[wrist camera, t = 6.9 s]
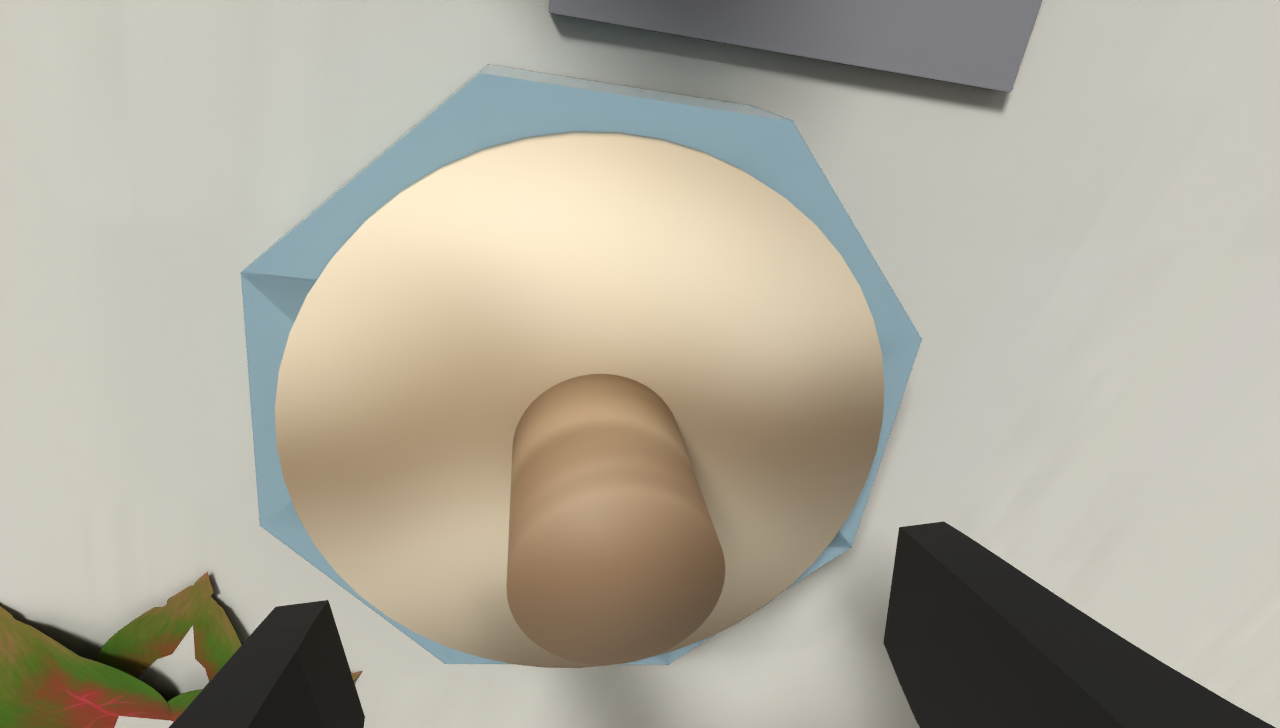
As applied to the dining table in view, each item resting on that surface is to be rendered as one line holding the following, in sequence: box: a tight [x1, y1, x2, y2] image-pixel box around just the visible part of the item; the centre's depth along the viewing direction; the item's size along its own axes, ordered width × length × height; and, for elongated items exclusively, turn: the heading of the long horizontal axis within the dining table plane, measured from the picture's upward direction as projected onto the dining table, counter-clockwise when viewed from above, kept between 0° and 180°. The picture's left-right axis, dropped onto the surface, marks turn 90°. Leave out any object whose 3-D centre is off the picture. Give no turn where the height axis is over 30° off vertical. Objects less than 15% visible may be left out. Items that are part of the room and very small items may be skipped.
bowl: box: [240, 64, 922, 665], centre depth 15 cm, size 12×12×2 cm
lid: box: [275, 131, 885, 668], centre depth 12 cm, size 11×11×4 cm
